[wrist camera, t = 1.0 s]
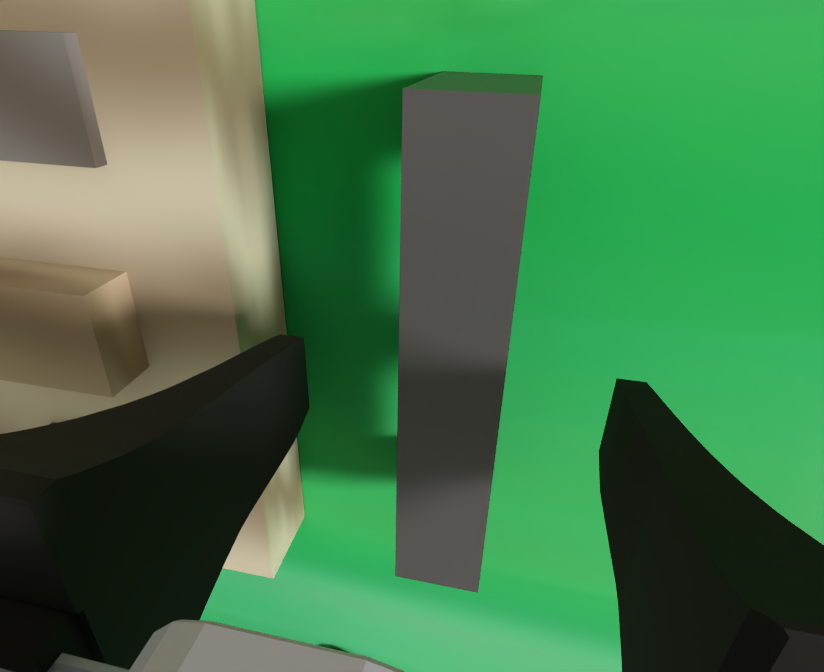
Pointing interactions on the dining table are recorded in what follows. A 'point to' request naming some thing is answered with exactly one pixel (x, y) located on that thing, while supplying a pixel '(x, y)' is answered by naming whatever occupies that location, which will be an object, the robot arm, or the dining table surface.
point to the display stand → (136, 216)
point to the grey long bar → (456, 308)
